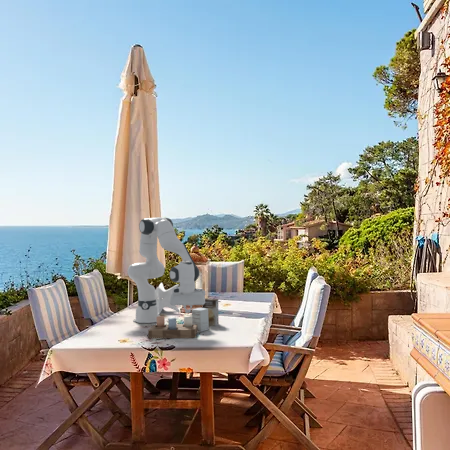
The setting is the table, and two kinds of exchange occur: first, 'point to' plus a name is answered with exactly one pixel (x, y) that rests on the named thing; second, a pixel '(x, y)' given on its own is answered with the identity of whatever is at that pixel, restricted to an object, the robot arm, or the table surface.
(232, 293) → the table surface
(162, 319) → the tan rounded short cylinder
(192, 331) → the tray
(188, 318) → the cream egg-shaped piece
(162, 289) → the starfish
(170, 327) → the key slate
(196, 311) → the supplement box
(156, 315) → the robot arm
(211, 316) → the coffee box
